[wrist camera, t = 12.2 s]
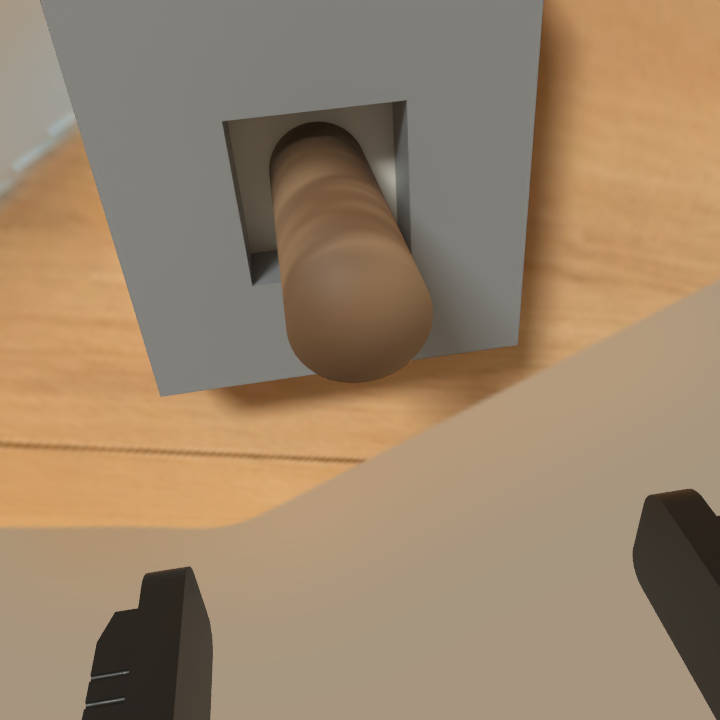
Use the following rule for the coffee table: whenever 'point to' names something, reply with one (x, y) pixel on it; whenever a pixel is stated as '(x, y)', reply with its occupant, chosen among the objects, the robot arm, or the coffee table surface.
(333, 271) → the walnut peg
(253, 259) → the socket block
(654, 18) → the coffee table surface
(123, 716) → the robot arm
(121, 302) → the coffee table surface
